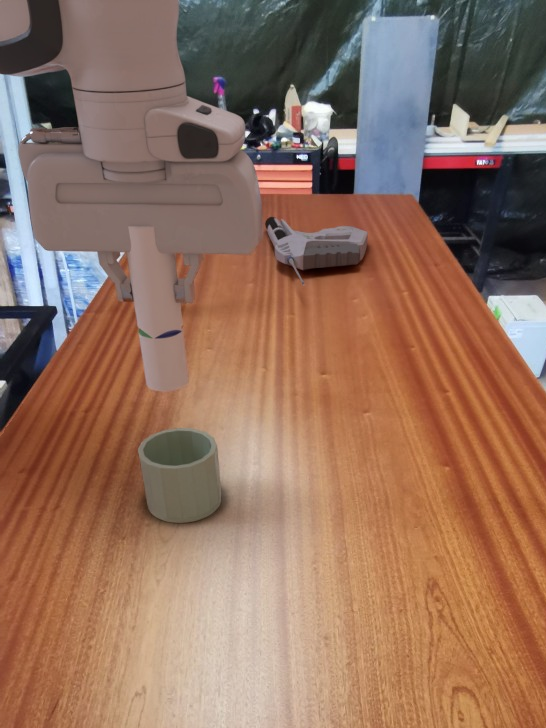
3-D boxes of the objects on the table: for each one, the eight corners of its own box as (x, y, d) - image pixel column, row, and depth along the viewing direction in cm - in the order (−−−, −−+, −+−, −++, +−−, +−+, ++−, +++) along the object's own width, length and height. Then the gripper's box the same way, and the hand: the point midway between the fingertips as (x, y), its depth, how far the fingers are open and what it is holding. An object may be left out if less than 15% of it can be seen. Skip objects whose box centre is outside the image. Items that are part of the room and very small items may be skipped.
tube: (154, 371, 76) (131, 212, 66) (194, 374, 76) (177, 214, 65) (140, 390, 73) (114, 226, 63) (181, 393, 72) (162, 228, 62)
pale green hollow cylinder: (138, 520, 81) (128, 466, 77) (158, 479, 88) (149, 426, 83) (213, 525, 80) (207, 470, 76) (227, 483, 87) (223, 429, 82)
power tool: (351, 234, 162) (261, 237, 160) (353, 208, 159) (261, 210, 157) (405, 296, 128) (291, 301, 126) (408, 264, 124) (291, 269, 122)
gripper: (-3, 135, 58) (38, 310, 68) (251, 135, 56) (258, 316, 65) (27, 120, 63) (62, 285, 72) (263, 119, 61) (268, 291, 70)
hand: (157, 300), depth 69 cm, fingers closed on tube, 4 cm apart
